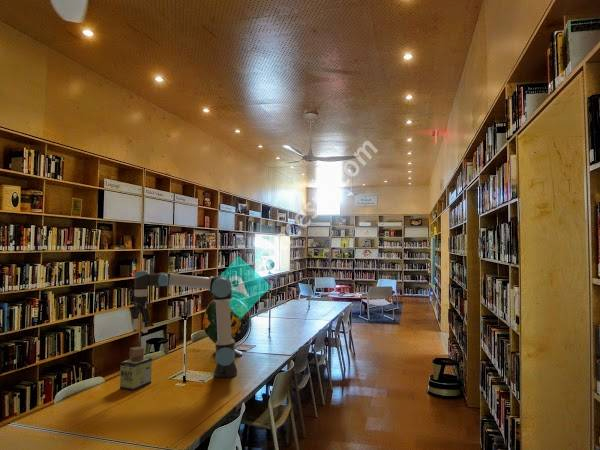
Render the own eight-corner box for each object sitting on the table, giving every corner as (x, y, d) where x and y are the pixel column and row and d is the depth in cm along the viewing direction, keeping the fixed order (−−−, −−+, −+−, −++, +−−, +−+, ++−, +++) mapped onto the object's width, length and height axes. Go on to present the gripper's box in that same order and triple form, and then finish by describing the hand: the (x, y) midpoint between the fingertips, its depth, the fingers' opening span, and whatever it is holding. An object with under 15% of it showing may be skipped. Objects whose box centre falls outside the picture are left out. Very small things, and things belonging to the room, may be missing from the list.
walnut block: (143, 360, 248) (143, 348, 249) (133, 361, 244) (133, 349, 244) (139, 358, 252) (139, 346, 253) (129, 359, 248) (129, 348, 249)
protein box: (119, 389, 242) (120, 362, 243) (138, 381, 256) (138, 355, 257) (133, 391, 238) (134, 364, 239) (151, 383, 253) (152, 357, 254)
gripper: (156, 297, 246) (155, 333, 245) (138, 293, 264) (137, 327, 263) (143, 298, 241) (143, 334, 240) (126, 294, 259) (125, 329, 257)
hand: (140, 331), depth 251 cm, fingers open, 13 cm apart
